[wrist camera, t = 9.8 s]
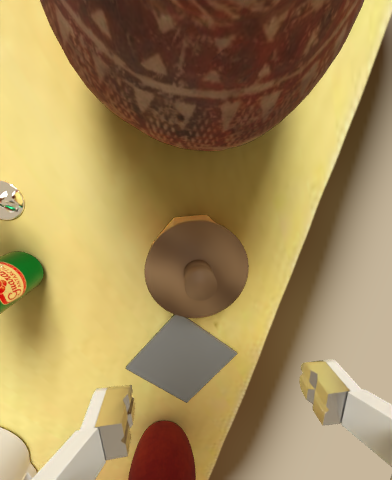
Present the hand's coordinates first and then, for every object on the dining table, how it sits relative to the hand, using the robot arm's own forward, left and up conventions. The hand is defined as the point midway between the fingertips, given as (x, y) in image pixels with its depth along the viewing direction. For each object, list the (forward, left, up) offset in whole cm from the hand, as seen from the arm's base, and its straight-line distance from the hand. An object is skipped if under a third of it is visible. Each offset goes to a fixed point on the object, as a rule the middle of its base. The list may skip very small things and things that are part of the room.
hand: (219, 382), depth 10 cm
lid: (0, 0, -14) cm, 14 cm away
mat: (-14, -10, -19) cm, 25 cm away
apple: (-27, -17, -19) cm, 37 cm away
